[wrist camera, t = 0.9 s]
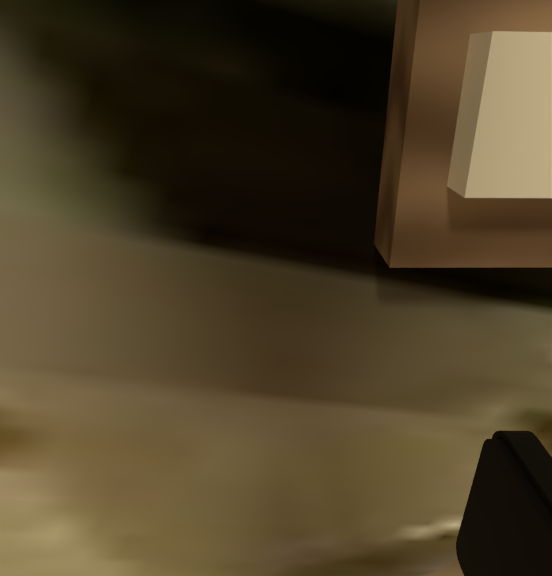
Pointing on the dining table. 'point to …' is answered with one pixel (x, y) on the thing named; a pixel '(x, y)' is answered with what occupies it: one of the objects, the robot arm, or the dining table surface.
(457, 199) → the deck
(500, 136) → the coaster
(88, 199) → the dining table surface
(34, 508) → the dining table surface
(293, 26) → the dining table surface
